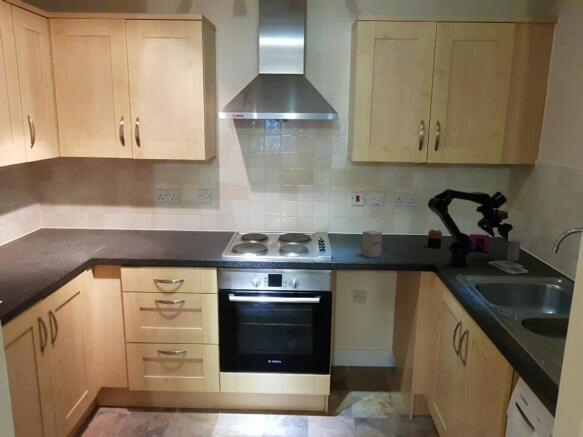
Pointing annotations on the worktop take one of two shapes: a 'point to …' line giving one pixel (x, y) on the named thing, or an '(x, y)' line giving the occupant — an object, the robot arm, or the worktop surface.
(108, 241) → the worktop surface
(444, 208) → the robot arm
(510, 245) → the grey rectangular block
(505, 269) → the grey tray
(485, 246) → the mounting bracket
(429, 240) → the battery
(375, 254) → the pinkish brown cylinder
